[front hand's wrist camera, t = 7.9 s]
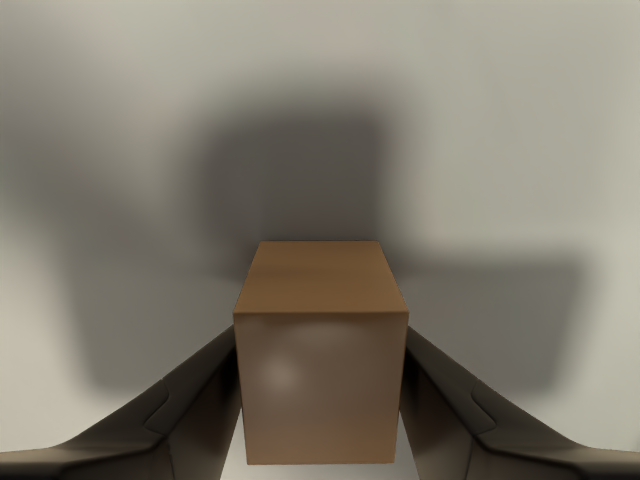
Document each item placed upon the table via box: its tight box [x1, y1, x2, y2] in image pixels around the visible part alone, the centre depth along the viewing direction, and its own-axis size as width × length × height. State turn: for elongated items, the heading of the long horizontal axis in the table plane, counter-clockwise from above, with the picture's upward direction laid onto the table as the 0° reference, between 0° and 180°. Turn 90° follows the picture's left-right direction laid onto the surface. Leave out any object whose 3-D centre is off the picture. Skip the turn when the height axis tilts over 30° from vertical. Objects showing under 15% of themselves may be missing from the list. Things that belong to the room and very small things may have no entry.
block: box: [233, 241, 409, 465], centre depth 11 cm, size 5×4×4 cm
